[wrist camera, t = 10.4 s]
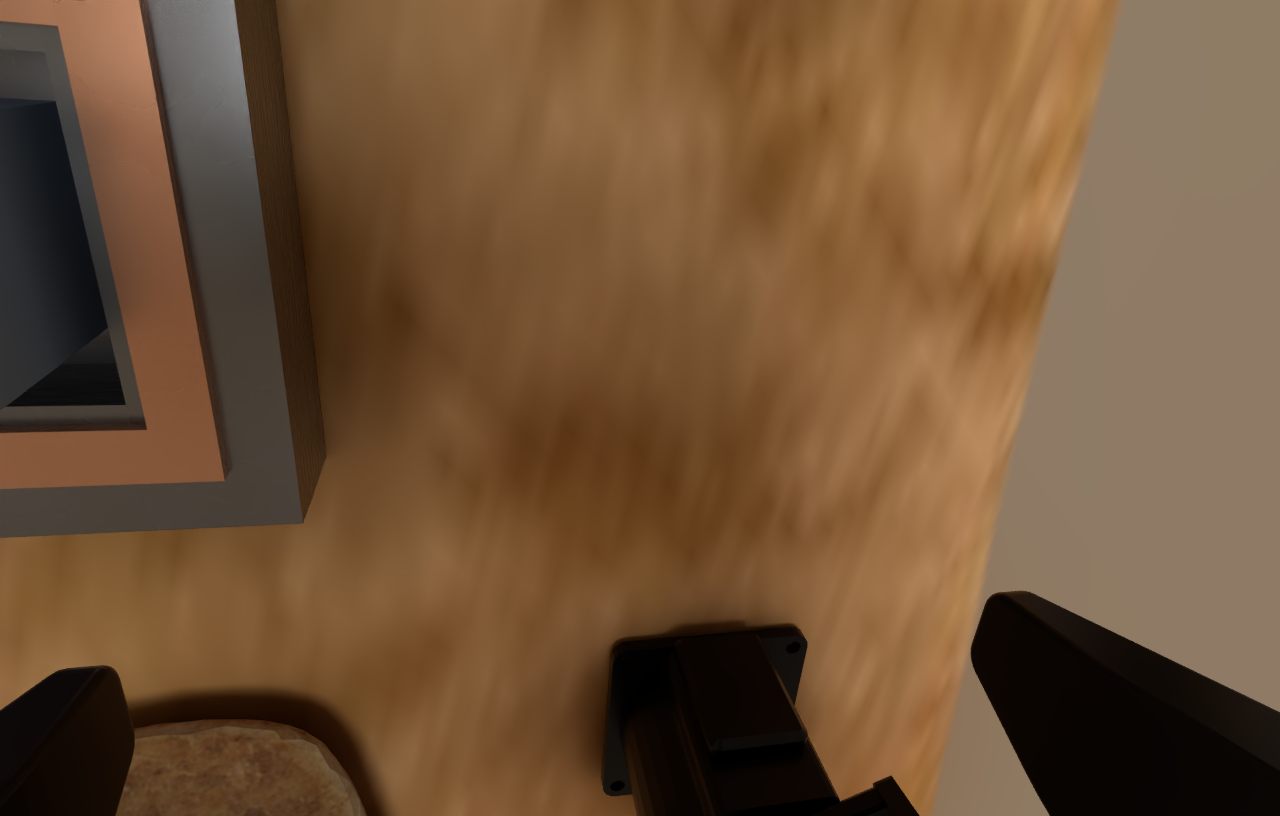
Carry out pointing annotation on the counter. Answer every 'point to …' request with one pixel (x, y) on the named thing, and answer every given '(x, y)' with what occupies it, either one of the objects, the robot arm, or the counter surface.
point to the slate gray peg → (41, 251)
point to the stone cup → (235, 772)
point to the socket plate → (169, 275)
